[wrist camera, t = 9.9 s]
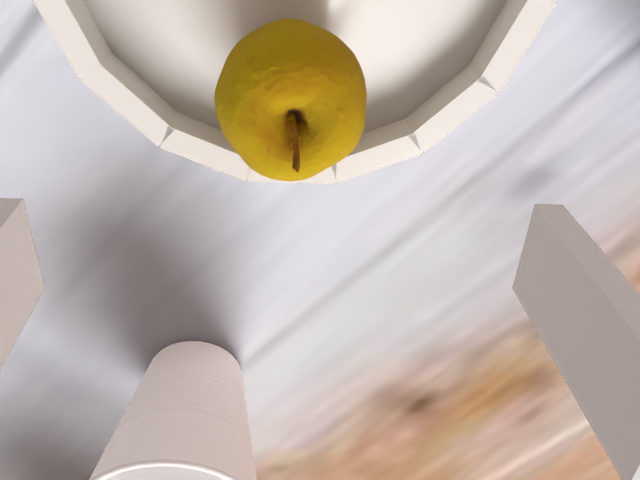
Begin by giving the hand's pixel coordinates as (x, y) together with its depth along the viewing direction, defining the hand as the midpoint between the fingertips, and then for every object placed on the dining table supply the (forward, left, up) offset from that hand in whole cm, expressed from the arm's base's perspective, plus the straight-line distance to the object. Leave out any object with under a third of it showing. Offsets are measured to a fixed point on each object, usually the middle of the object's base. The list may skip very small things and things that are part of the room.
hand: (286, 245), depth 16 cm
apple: (0, 0, -15) cm, 15 cm away
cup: (-6, -21, -17) cm, 27 cm away
